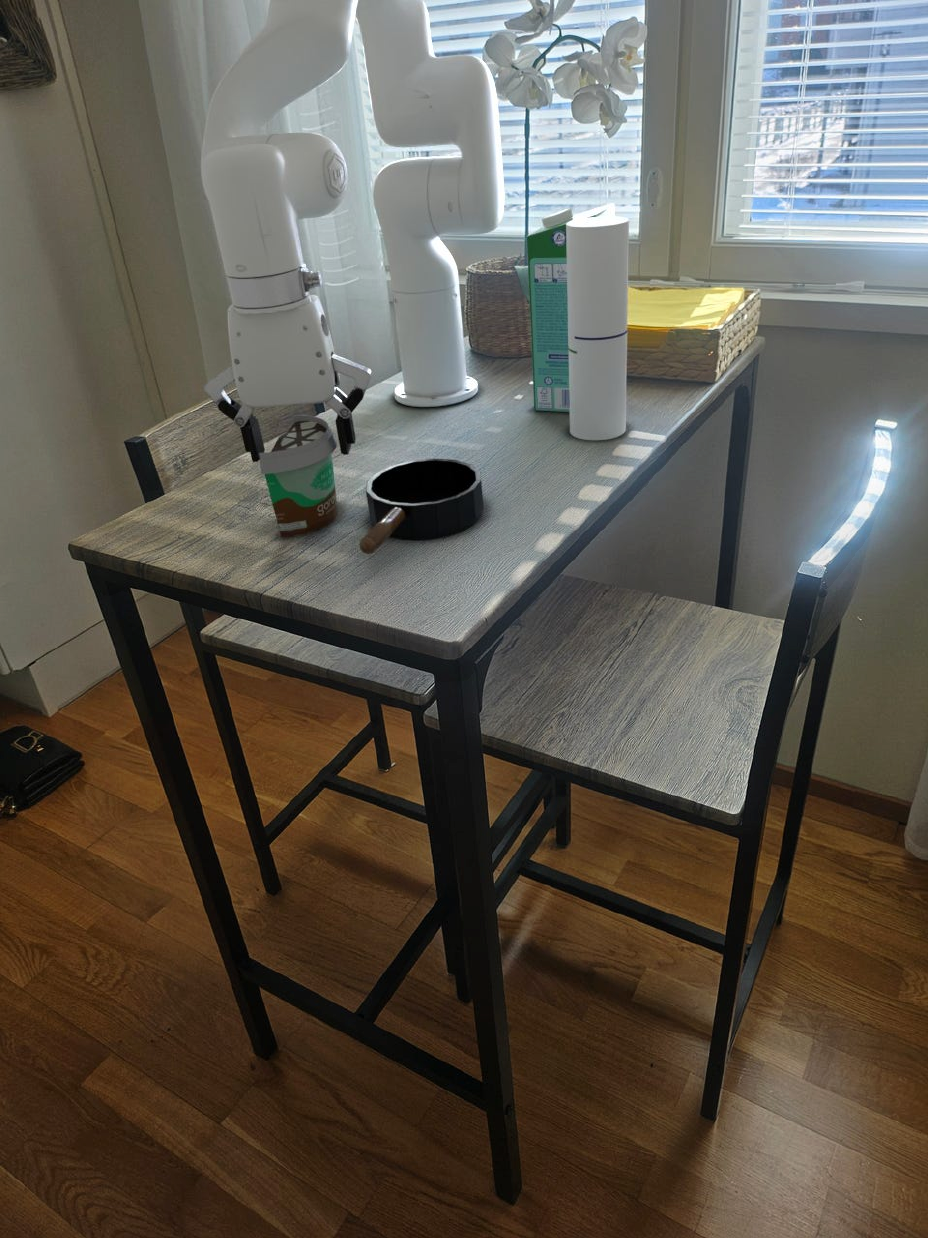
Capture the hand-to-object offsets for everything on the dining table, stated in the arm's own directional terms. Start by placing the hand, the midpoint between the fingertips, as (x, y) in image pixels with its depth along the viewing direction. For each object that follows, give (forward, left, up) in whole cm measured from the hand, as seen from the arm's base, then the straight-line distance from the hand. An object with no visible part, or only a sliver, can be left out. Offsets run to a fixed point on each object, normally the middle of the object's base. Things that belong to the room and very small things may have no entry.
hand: (302, 453), depth 95 cm
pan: (+5, +11, -8) cm, 15 cm away
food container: (0, +1, -8) cm, 8 cm away
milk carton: (-32, +32, -8) cm, 46 cm away
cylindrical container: (-20, +34, -8) cm, 40 cm away
